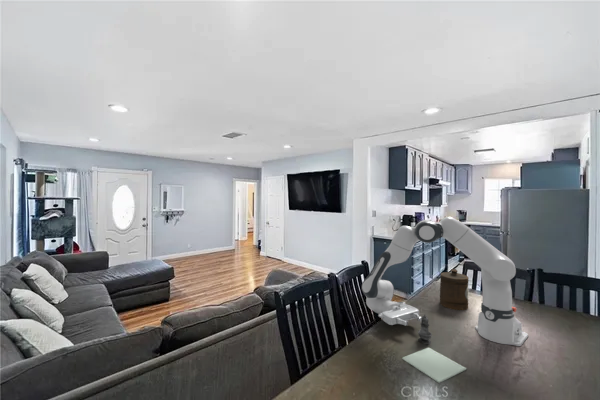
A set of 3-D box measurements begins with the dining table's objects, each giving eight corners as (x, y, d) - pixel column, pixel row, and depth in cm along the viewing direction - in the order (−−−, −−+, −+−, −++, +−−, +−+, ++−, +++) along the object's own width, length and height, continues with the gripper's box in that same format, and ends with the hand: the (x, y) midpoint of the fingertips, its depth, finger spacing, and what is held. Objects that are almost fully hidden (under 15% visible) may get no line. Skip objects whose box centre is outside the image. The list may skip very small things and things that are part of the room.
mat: (428, 348, 116) (428, 347, 116) (466, 369, 102) (466, 368, 102) (402, 358, 108) (402, 357, 108) (439, 383, 94) (439, 381, 94)
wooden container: (473, 310, 155) (474, 272, 155) (447, 310, 155) (448, 272, 155) (459, 300, 170) (459, 265, 170) (435, 300, 170) (435, 265, 170)
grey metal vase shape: (415, 337, 125) (415, 311, 125) (427, 337, 125) (427, 311, 125) (421, 344, 119) (422, 317, 119) (434, 344, 119) (434, 317, 119)
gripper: (376, 308, 135) (398, 319, 122) (405, 301, 144) (428, 310, 132) (376, 321, 135) (398, 333, 122) (405, 312, 144) (428, 323, 132)
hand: (414, 321), depth 127 cm, fingers open, 8 cm apart
